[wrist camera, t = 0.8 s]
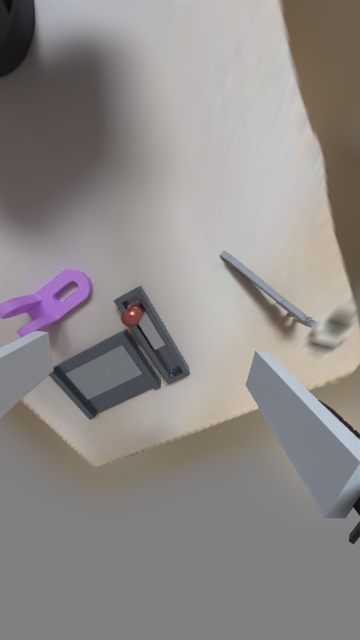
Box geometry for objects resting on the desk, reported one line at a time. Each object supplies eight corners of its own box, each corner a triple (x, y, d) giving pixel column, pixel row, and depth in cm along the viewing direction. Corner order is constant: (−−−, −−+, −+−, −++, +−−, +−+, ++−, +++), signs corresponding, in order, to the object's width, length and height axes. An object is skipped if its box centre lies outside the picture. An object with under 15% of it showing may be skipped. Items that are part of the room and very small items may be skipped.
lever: (127, 305, 31) (117, 314, 26) (140, 298, 31) (132, 306, 25) (154, 348, 34) (150, 364, 29) (166, 342, 34) (165, 357, 28)
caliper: (297, 316, 34) (323, 326, 28) (293, 320, 35) (318, 331, 29) (223, 250, 30) (235, 246, 24) (219, 255, 30) (230, 253, 24)
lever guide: (117, 298, 32) (113, 300, 30) (140, 285, 31) (138, 287, 29) (168, 377, 38) (168, 384, 35) (188, 367, 37) (189, 374, 35)
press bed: (54, 366, 36) (46, 372, 34) (126, 329, 34) (123, 333, 32) (94, 411, 40) (89, 419, 38) (161, 380, 38) (160, 387, 36)
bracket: (49, 326, 33) (18, 342, 27) (26, 304, 32) (-13, 314, 25) (99, 289, 31) (79, 295, 25) (77, 263, 30) (49, 262, 23)
